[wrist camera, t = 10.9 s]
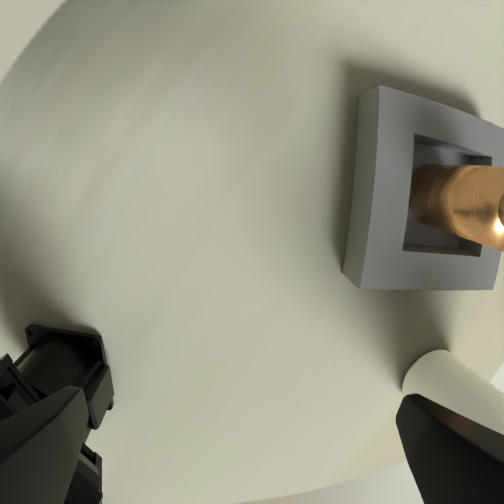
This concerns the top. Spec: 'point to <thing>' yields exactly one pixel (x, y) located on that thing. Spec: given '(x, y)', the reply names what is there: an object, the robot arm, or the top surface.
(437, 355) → the drinking glass
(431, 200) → the battery cell
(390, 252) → the gray cradle
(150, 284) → the top surface
